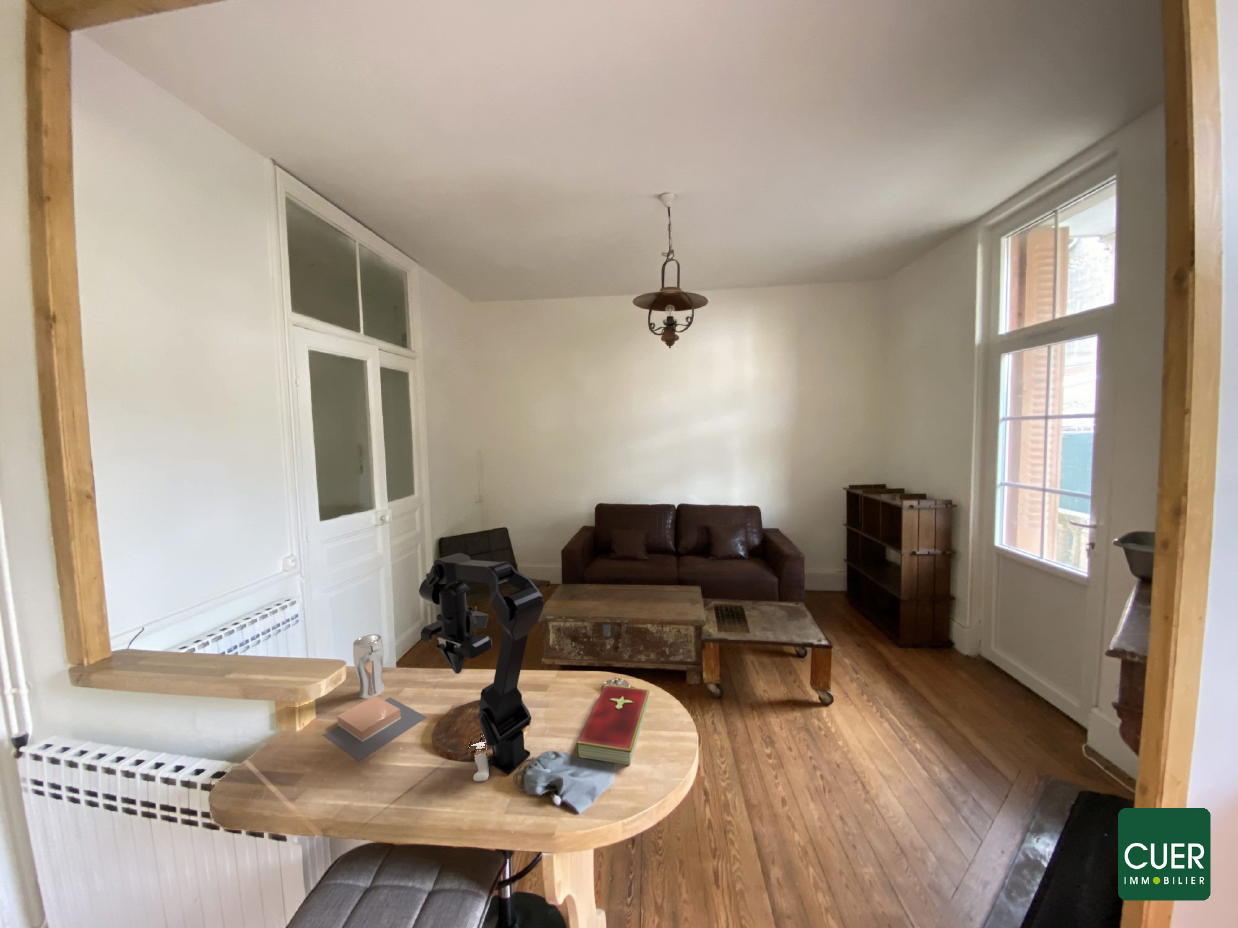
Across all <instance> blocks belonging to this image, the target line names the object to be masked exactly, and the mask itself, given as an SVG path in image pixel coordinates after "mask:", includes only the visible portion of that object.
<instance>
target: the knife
mask: <svg viewBox="0 0 1238 928" xmlns="http://www.w3.org/2000/svg"><path fill="white" fill-rule="evenodd" d="M484 743H486V741H485V742H482V741H481V742H479V743H476V744H473V745H471V746H477V747H476V749H482V748H485V747H483V746H485V744H484ZM481 746H482V747H481ZM468 747H469V746H468ZM469 748H470V747H469ZM477 751H478V750H477ZM479 751H481V750H479ZM474 757H475V758H474V761H475V765H476V766H477V769H478V771H477V772H476V773H474V775H473V780H474V781H475V782H484V781H487V780H488V779H489V775H490V768H489V764H488V759H489V758H488V754H487V755H486V753H484V754H483V753H482V754H481V753H480V754H478V755H475V754H474Z"/></svg>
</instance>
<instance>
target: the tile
mask: <svg viewBox="0 0 1238 928" xmlns="http://www.w3.org/2000/svg"><path fill="white" fill-rule="evenodd" d="M385 700H386V699H383V698H381V697H380V696H378V695H377V696H376V695H375V696H373V697H371V698H367V699H365V700H364V701H362V702H360V703H359V704H357V705H355V706H352V707H351V708H349V709H347V710H346V711H344V712H342V713H340V714H338V715H337V716H336V717H337V725H338V726H340V727H342V728H343V729H344V730H346V731H347V732H349V733H350V734H352V735H353V736H355V737H356V738H358V739H359V740H361V741H362V742H363V741H365V740H366V739H368V738H370V737H371V736H373V735H375V734H376V733H378V732H379V731H381V730H383V729H384V728H386V727H388V726H389V725H391V724H392V723H394V722H396V721H397V720H399V719H401V715H400V709H399V708H397V707H395V706H394V705H392V704H390V703H388V702H386V701H385Z"/></svg>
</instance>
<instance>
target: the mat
mask: <svg viewBox="0 0 1238 928" xmlns="http://www.w3.org/2000/svg"><path fill="white" fill-rule="evenodd" d="M384 700H385V701H386V702H388V703H390V704H392V705H394V706H395V707H397V708H399V709H400V715H401V719H399V720H397V721H396V722H394V723H392V724H391V725H389V726H388V727H386V728H384V729H383V730H381V731H379V732H378V733H376V734H375V735H373V736H371V737H370V738H368V739H366V740H365V741H363V742H362V741H361V740H359V739H358V738H356V737H355V736H353V735H352V734H350V733H349V732H347V731H346V730H344V729H343V728H342V727H340V726H339V725H338V726H335V728H332V729H331V730H328V731H327V732H325V733H324V734H322V736H324V737H325V738H326V739H327V740H329V741H330V742H332V743H333V744H334V745H336V746H337V747H338V748H340V749H341V750H342V751H344V752H345V753H347V754H348V755H349V756H351V757H352V758H353V759H355V760H356V761H358V762H361V761H362V760H364V759H365V758H367V757H369V756H370V755H372V754H373V753H375V752H376V751H378V750H380V749H381V748H382V747H384V746H385V745H387V744H389V743H390V742H392V741H394V740H395V739H396V738H398V737H399V736H401V735H403V734H404V733H406V732H407V731H408V730H410V729H411V728H413V727H415V726H416V725H418V724H420V723H421V722H423V721H424V720H427V718H428V716H426V715H425V714H422V713H420V712H418V711H416V710H414V709H413V708H412V707H409V706H407V705H406V704H404V703H402V702H400V701H398V700H396V699H394V698H392V697H390V696H389V697H388V698H386V699H384Z"/></svg>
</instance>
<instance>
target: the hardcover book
mask: <svg viewBox="0 0 1238 928" xmlns="http://www.w3.org/2000/svg"><path fill="white" fill-rule="evenodd" d="M650 690H651V689H649V688H648V689H646V688H639V687H629V686H622V685H614V684H613V685H612V684H604V686H603V688H602V690H601V691H600V694H599V697H598V698H597V700H596V702H595V705H594V707H593V709H592V711H591V713H590V715H589V717H588V719H587V721H586V723H585V724H584V725H585V726H584V727H583V730H582V731H581V733H580V735H579V738H578V739H577V742H576V745H575V756H576V758H577V757H579V758H584V759H591V760H596V761H601V762H608V763H614V764H620V765H627V766H631V763H632V760H633V756H634V753H635V749H636V745H637V743H638V739H639V737H640V733H641V728H642V726H643V723H644V718H645V716H646V713H647V709H648V705H649V694H650Z"/></svg>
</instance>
